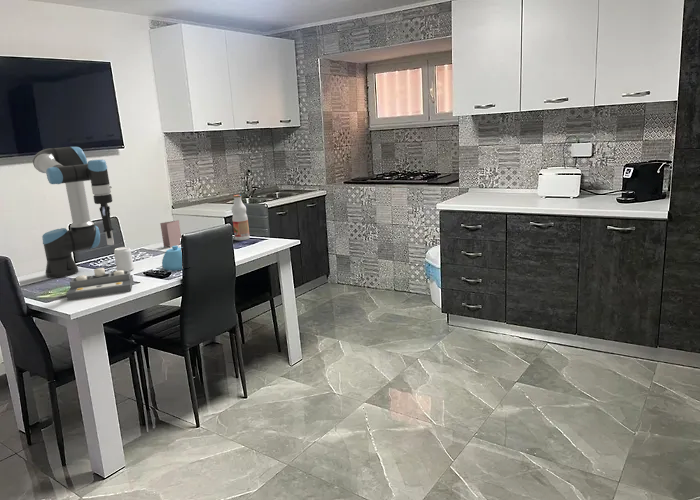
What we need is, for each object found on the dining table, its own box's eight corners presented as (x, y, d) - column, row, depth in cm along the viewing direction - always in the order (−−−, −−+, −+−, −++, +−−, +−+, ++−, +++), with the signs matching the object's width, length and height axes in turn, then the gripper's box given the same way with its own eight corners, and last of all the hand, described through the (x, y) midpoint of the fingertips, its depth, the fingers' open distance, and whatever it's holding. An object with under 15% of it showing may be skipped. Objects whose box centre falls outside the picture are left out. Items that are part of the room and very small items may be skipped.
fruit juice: (247, 240, 331) (242, 195, 324) (233, 241, 332) (227, 196, 325) (251, 237, 340) (246, 193, 333) (237, 237, 341) (232, 194, 334)
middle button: (95, 274, 245) (94, 268, 245) (106, 273, 247) (104, 267, 246) (94, 277, 241) (93, 270, 241) (105, 275, 243) (103, 269, 242)
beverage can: (128, 272, 271) (124, 250, 268) (114, 273, 273) (110, 250, 270) (137, 268, 279) (133, 246, 276) (123, 268, 280) (119, 246, 278)
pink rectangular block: (181, 243, 336) (178, 220, 332) (185, 245, 330) (181, 221, 326) (163, 246, 329) (159, 222, 326) (166, 248, 323) (163, 224, 320)
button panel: (74, 289, 247) (71, 277, 246) (133, 280, 255) (131, 268, 254) (67, 300, 231) (64, 287, 229) (131, 291, 238) (128, 278, 237)
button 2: (115, 277, 248) (114, 271, 248) (125, 275, 250) (124, 269, 249) (114, 279, 244) (113, 273, 244) (124, 278, 246) (123, 271, 245)
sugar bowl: (198, 265, 276) (195, 244, 273) (172, 273, 265) (169, 250, 262) (183, 262, 286) (180, 241, 283) (157, 269, 275) (154, 247, 272)
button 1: (77, 282, 244) (76, 276, 243) (88, 281, 245) (87, 274, 244) (76, 285, 240) (75, 278, 239) (86, 283, 241) (85, 277, 240)
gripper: (109, 195, 234) (118, 246, 240) (112, 191, 246) (120, 240, 252) (91, 196, 232) (100, 248, 238) (94, 193, 244) (103, 242, 250)
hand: (110, 244), depth 245 cm, fingers closed
